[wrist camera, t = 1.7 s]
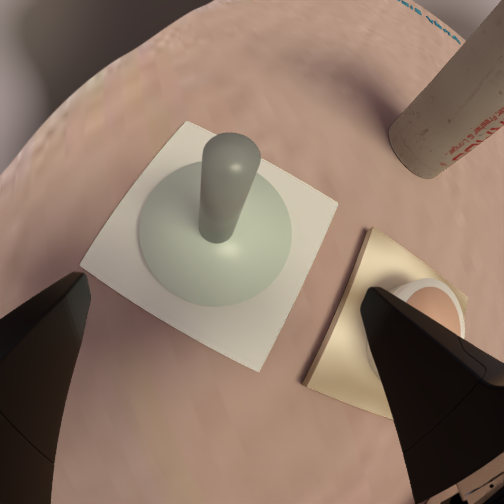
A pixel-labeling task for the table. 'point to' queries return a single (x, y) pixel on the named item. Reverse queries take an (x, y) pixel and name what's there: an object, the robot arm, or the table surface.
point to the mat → (199, 316)
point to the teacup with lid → (443, 495)
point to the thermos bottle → (455, 104)
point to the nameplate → (430, 20)
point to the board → (352, 329)
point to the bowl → (429, 306)
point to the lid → (216, 226)
